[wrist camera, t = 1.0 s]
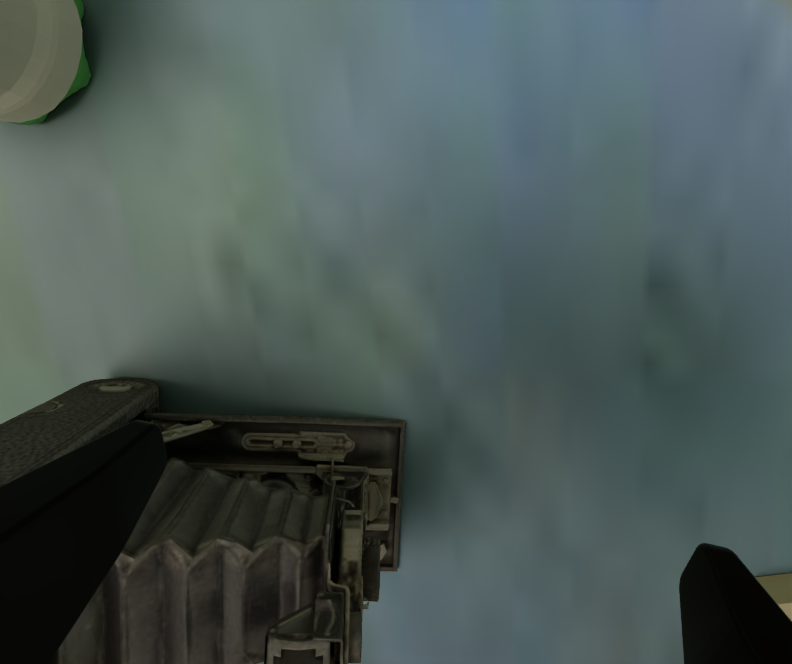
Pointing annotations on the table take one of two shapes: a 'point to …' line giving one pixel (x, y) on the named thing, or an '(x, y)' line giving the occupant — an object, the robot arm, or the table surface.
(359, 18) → the table surface
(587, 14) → the table surface
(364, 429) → the camera
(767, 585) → the board
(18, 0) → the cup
